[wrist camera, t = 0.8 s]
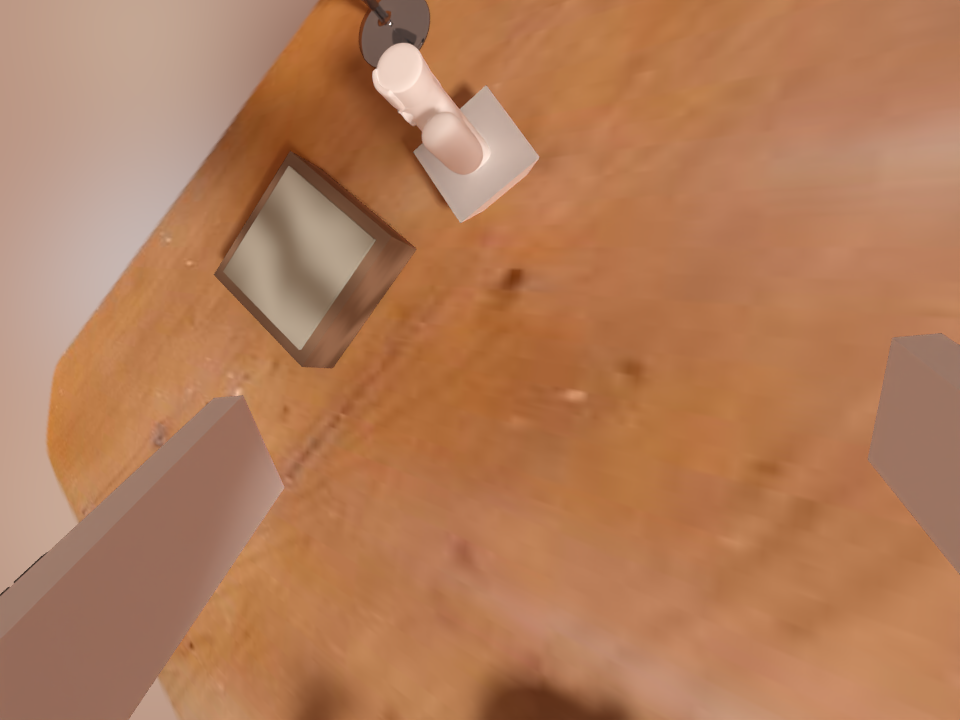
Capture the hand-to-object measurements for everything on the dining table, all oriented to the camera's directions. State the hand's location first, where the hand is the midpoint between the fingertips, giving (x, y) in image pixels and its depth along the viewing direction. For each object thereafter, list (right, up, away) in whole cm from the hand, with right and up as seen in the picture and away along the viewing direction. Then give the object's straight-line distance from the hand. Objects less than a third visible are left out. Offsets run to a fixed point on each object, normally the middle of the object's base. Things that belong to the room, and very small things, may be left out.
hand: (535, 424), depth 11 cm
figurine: (0, +16, +31) cm, 35 cm away
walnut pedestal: (-15, +10, +36) cm, 40 cm away
